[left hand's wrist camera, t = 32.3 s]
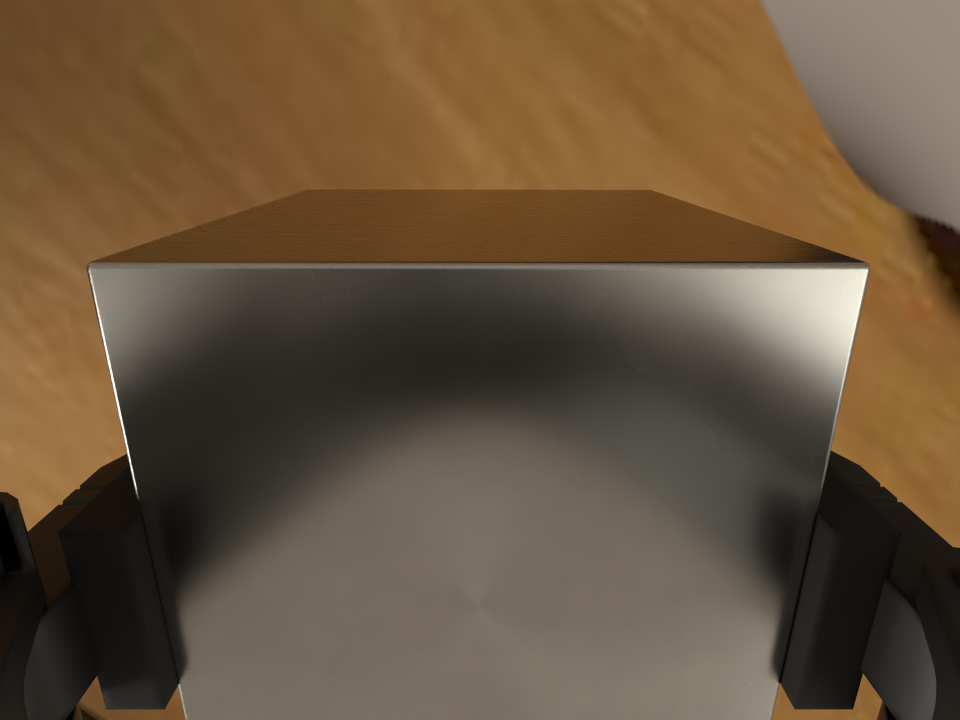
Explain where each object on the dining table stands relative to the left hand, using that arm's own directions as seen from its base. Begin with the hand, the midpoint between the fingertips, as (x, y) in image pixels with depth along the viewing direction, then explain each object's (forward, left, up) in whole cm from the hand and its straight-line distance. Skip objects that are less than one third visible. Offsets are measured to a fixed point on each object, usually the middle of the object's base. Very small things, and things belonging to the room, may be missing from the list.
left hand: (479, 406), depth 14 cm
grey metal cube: (0, 0, -3) cm, 3 cm away
